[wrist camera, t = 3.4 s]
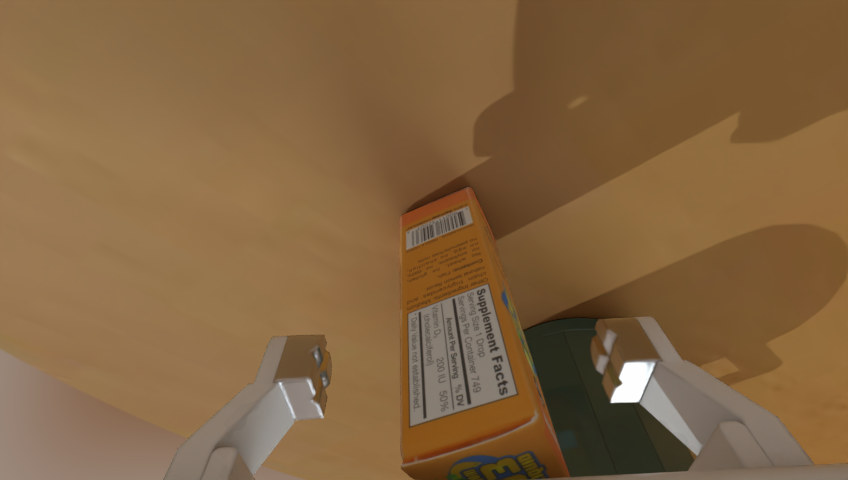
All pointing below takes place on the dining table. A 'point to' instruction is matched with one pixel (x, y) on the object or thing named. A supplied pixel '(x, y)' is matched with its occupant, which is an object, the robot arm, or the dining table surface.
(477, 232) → the supplement box
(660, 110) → the dining table surface
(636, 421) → the teal faceted mug
